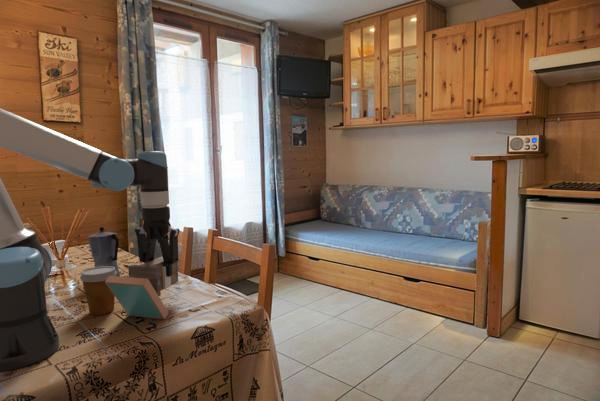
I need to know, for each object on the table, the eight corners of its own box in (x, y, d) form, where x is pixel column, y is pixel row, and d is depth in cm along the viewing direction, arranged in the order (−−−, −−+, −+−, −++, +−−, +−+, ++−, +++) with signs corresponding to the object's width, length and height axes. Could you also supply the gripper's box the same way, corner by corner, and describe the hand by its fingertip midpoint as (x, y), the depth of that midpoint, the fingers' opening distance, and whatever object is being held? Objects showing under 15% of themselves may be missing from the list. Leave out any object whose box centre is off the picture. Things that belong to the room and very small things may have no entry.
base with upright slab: (57, 268, 164) (54, 239, 162) (75, 269, 161) (72, 240, 160) (37, 275, 155) (34, 244, 154) (56, 276, 153) (53, 245, 151)
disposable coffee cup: (127, 305, 119) (123, 266, 118) (105, 318, 110) (101, 275, 109) (99, 304, 121) (95, 265, 120) (75, 316, 112) (71, 274, 110)
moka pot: (106, 276, 150) (102, 223, 147) (135, 281, 142) (130, 226, 140) (82, 284, 141) (77, 228, 139) (111, 290, 134) (106, 231, 132)
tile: (164, 319, 108) (143, 285, 100) (128, 315, 111) (104, 282, 103) (168, 313, 109) (148, 278, 101) (132, 309, 113) (109, 275, 105)
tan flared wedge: (157, 297, 108) (156, 267, 107) (130, 294, 110) (128, 265, 110) (185, 282, 120) (184, 256, 119) (159, 280, 123) (158, 254, 122)
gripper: (189, 205, 115) (193, 284, 117) (139, 204, 119) (143, 280, 122) (173, 208, 107) (178, 293, 110) (121, 207, 112) (126, 288, 115)
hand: (160, 286), depth 116 cm, fingers closed on tan flared wedge, 4 cm apart
